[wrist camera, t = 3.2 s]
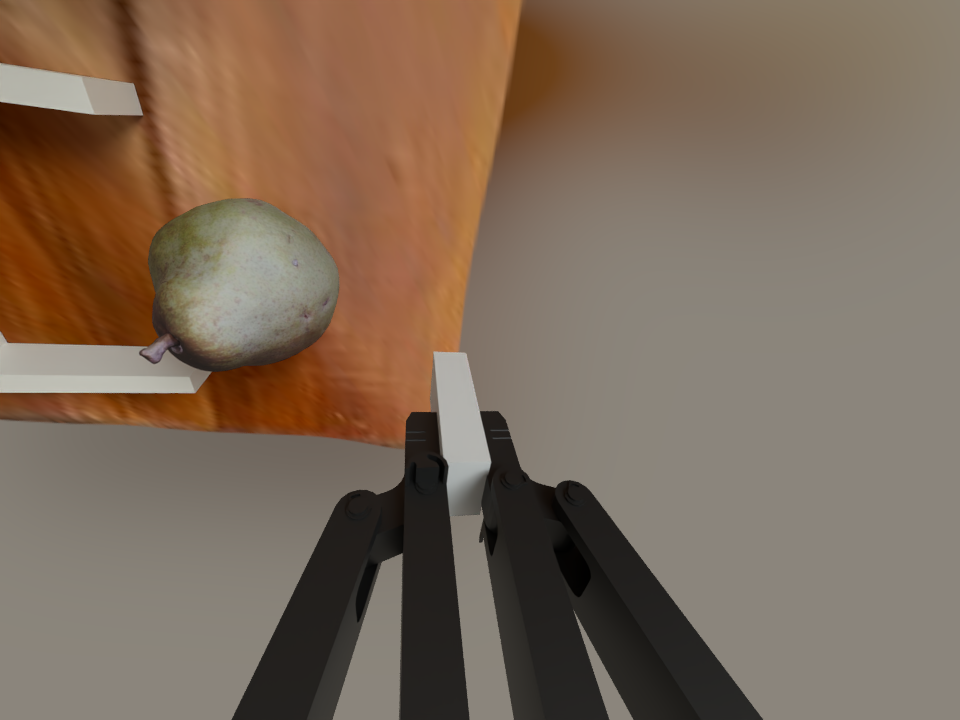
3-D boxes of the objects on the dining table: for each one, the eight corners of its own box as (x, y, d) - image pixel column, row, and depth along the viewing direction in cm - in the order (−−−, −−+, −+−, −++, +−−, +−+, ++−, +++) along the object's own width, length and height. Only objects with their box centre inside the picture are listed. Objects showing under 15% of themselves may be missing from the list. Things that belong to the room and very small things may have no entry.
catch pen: (-6, 359, 27) (-63, 392, 24) (-237, 26, 17) (-389, 4, 14) (218, 363, 30) (195, 393, 27) (133, 83, 20) (81, 76, 17)
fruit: (168, 248, 25) (14, 330, 15) (252, 149, 23) (135, 172, 13) (297, 339, 31) (244, 444, 21) (375, 266, 28) (358, 345, 18)
